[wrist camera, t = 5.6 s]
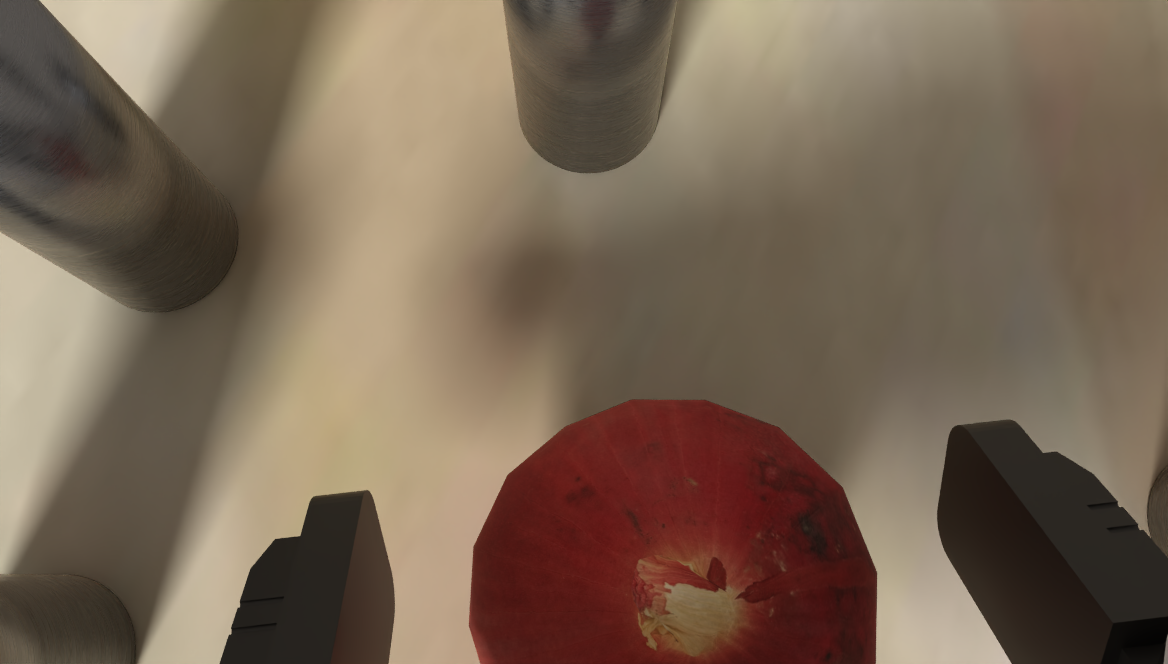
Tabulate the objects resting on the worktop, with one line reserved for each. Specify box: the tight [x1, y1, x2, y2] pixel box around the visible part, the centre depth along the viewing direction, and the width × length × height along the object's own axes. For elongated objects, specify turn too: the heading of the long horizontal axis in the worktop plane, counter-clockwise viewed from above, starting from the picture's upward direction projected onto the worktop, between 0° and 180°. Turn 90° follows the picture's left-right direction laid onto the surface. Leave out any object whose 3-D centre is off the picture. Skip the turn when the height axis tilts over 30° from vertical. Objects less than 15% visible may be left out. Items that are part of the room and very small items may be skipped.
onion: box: [469, 400, 877, 664], centre depth 13 cm, size 6×6×8 cm
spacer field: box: [0, 0, 1168, 664], centre depth 14 cm, size 20×22×8 cm
